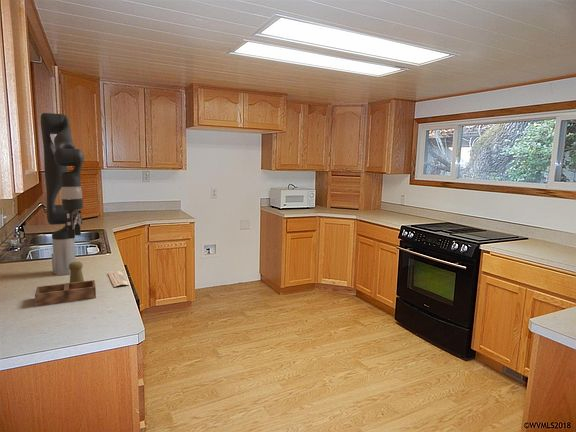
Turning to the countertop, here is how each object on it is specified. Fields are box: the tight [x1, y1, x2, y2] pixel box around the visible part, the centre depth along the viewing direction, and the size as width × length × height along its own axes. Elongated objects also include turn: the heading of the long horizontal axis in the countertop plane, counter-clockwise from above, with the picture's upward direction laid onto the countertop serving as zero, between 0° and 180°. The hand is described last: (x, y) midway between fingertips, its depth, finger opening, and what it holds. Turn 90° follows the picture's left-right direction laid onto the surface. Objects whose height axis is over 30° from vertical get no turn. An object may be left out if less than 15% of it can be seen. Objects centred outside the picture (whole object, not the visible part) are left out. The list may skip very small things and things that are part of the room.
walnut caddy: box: [34, 279, 97, 307], centre depth 155 cm, size 20×10×4 cm, turn 118°
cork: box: [69, 261, 85, 283], centre depth 168 cm, size 6×6×11 cm
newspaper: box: [107, 270, 130, 288], centre depth 180 cm, size 24×7×2 cm, turn 31°
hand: (74, 236), depth 161 cm, fingers open, 8 cm apart
